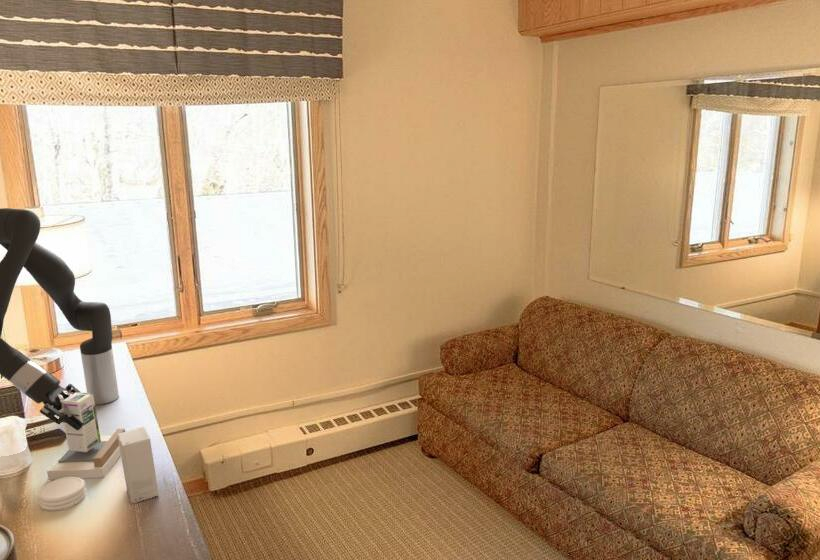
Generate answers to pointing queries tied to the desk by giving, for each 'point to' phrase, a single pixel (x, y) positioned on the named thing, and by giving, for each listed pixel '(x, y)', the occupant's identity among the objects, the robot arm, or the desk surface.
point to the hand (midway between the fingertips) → (87, 421)
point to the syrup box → (86, 413)
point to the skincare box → (138, 464)
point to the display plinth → (88, 460)
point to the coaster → (62, 493)
